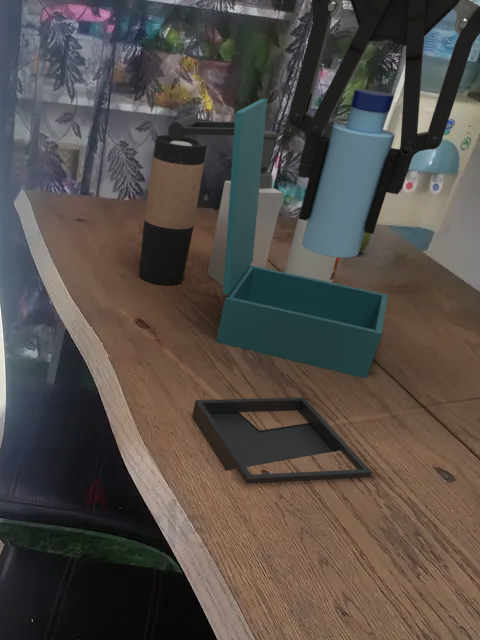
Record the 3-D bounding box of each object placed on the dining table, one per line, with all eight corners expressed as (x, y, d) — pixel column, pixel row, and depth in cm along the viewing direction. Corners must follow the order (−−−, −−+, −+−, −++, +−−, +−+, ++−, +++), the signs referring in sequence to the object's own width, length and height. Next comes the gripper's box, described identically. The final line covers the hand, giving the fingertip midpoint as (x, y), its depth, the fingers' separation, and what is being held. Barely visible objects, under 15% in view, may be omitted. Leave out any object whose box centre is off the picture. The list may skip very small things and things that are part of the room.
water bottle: (369, 257, 68) (420, 99, 60) (324, 259, 66) (371, 96, 58) (334, 239, 71) (377, 88, 64) (290, 240, 69) (330, 85, 62)
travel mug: (130, 279, 116) (148, 139, 104) (145, 265, 122) (164, 132, 110) (176, 289, 114) (200, 149, 102) (189, 275, 120) (213, 141, 108)
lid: (267, 98, 94) (192, 98, 97) (242, 112, 82) (158, 111, 85) (252, 261, 105) (186, 256, 108) (228, 294, 93) (154, 288, 96)
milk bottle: (319, 303, 116) (358, 166, 104) (273, 289, 119) (307, 154, 107) (334, 291, 121) (374, 159, 109) (290, 278, 124) (324, 149, 112)
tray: (365, 489, 73) (372, 472, 72) (243, 496, 70) (248, 478, 69) (299, 413, 85) (304, 397, 84) (191, 416, 82) (195, 399, 80)
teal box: (372, 340, 105) (388, 294, 101) (364, 384, 93) (381, 333, 89) (239, 310, 110) (249, 264, 106) (214, 347, 98) (225, 297, 94)
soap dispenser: (234, 268, 125) (265, 125, 112) (260, 287, 119) (296, 137, 106) (200, 269, 123) (227, 123, 110) (225, 288, 117) (257, 135, 104)
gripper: (299, -127, 52) (230, 212, 66) (575, -103, 48) (440, 254, 62) (313, -114, 58) (247, 195, 72) (561, -91, 54) (440, 233, 68)
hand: (337, 222), depth 67 cm, fingers closed on water bottle, 5 cm apart
